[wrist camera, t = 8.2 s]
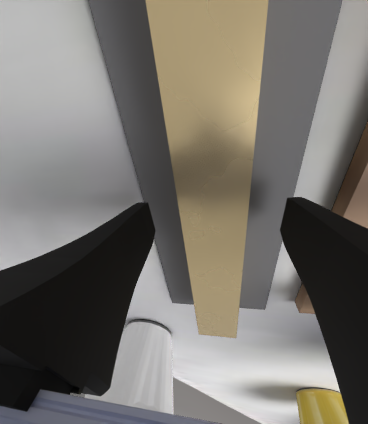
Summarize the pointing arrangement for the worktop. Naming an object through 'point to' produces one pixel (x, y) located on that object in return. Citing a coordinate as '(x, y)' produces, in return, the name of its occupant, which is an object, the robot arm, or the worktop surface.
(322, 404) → the plant pot
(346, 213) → the hook rack
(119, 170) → the worktop surface
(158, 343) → the cup
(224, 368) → the worktop surface
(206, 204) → the brass rail
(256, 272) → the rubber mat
